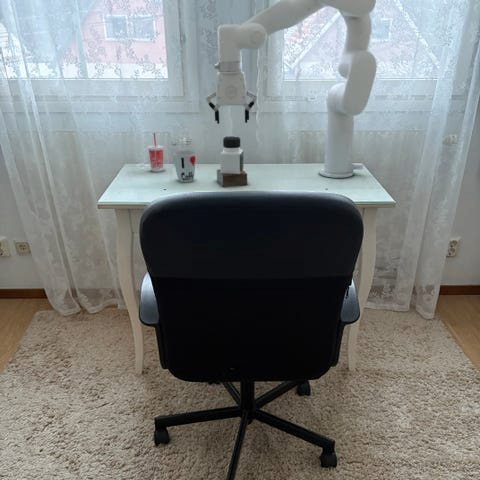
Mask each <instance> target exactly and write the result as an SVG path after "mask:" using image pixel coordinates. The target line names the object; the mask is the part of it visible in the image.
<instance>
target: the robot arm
mask: <svg viewBox="0 0 480 480" xmlns="http://www.w3.org/2000/svg"><path fill="white" fill-rule="evenodd" d="M376 2H377V0H279V1H277V2H275V3H273V4H272V5H270V6H269V7H267V8H265V9H264V10H262V11H260V12H259V13H257V14H255V15H254V16H252V17H250V18H249V19H247V20H246V21H244V22H243V23H242V24H236V23H235V24H234V23H230V24H229V23H228V24H220V25H219V26H218V27H217V49H218V50H217V51H218V62H217V63H215V64H214V70H216V69H217V70H218V72H216V76H215V91H214V92H211V93H210V94H209V95H207V96H206V97H205V100H206V102H207V104H208V106H209V107H210V108H211V109H212V110H213V111H214V122H216V124H217V125H219V124H220V110H219V109H220V107H221V106H222V107H223V106H224V107H226V106H243V107H244V123H245V124H247V123H248V121H249V120H250V110H251V109H252V107H253V106H254V105H255V103H256V101H257V100H258V95H257V94H255V93H254V92H253V93H252V92H251V91H249V90H247V81H246V73H245V71H243V60H242V59H243V58H242V51H243V50H242V49H245V50H253V51H255V50H259V49H261V48H262V47H264V45H266V43H267V39H268V37H269V36H271V35H273V34H275V33H277V32H279V31H282V30H286V29H290V28H292V27H294V26H297V25H299V24H300V23H302V22H303V21H305V20H306V19H307V18H309V17H310V16H312V15H314V14H315V13H317V12H318V11H320V10H322V9H323V8H325V7H331V8H334V9H336V10H338V12H339V14H340V15H341V16H342V18H343V20H344V23H345V36H344V41H343V45H342V49H341V52H340V57H339V61H338V64H337V65H338V67H337V68H338V69H337V71H338V73H339V75H340V76H341V77H342V78H343V79H346V82H339V83H336V84H335V85H333V86H332V87H331V88H330V90H329V91H328V94H327V98H326V111H327V125H326V139H325V152H324V167H323V168H321V169H320V170H319V174H320V176H323V177H327V178H333V179H343V178H350V177H352V176H353V175H354V170H357V171H358V170H363V169H364V165H363V163H353V162H352V161H351V159H352V148H353V138H354V130H355V116H356V117H357V116H358V115H360V114H361V113H363V112H364V110H365V109H366V107H367V105H368V102H369V100H370V96H371V92H372V89H373V86H374V82H375V78H376V74H377V69H378V67H377V65H378V64H377V59H376V57H375V55H374V53H372V52H371V51H370V50H369V47H370V43H371V37H372V31H373V30H372V29H373V26H372V25H373V24H372V19H371V15H370V14H371V13H372V12H373V10H374V9H375V7H376V4H377V3H376ZM247 96H248V97H250V98H251V101H250V102H249V103H248V102H247V100H248V99H247V98H248V97H247ZM213 98H215V100H216V104H214V103H213V101H212V99H213Z"/></svg>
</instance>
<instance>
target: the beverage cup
mask: <svg viewBox="0 0 480 480" xmlns="http://www.w3.org/2000/svg"><path fill="white" fill-rule="evenodd" d="M153 140H154V145H148V146H147V150H148V154H149V161H150V168H151V169H150V170H151V172H153V173H158V172H163V171H164V145H161V144H157V142H156V133H155V132H153Z"/></svg>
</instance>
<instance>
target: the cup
mask: <svg viewBox="0 0 480 480" xmlns="http://www.w3.org/2000/svg"><path fill="white" fill-rule="evenodd" d="M196 154H197V153H196V151H194V150H187V149H185V150H183V149H182V150H176V151H174V152H173V154H172V155H173V164H174V169H175V172H176V176H177V178H178V181H179V182H180V183H190V182H193V181H194V178H195V174H196V173H195V172H196V160H197V159H196V158H197V157H196Z"/></svg>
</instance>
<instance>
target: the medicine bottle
mask: <svg viewBox="0 0 480 480" xmlns="http://www.w3.org/2000/svg"><path fill="white" fill-rule="evenodd" d="M222 145H223V147H222V148H223V150H222V151H220V154H219V157H220V159H219V162H220V164H219V165H220V169H221V173H223V174H240V173H241V172H242V170H243V171H244V149H242V148H241V138H240V137H239V136H236V135H228V136H227V135H226V136H225V137H223V138H222Z"/></svg>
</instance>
